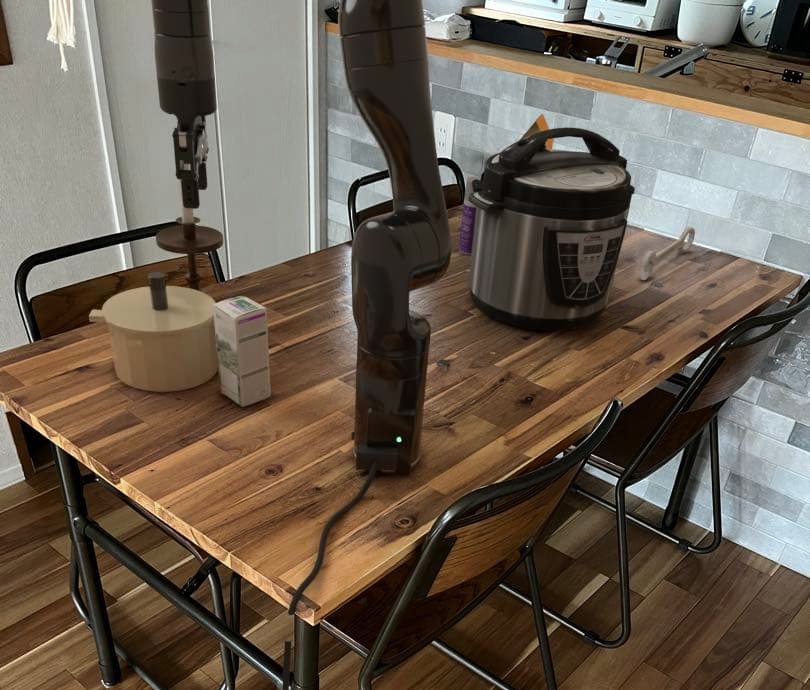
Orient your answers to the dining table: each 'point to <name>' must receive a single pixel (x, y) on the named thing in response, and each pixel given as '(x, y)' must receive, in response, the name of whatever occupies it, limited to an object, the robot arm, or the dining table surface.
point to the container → (468, 220)
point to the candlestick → (189, 240)
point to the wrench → (666, 252)
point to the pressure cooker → (549, 231)
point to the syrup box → (242, 350)
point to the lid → (158, 308)
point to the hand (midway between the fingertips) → (195, 198)
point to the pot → (163, 357)
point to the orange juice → (539, 130)
